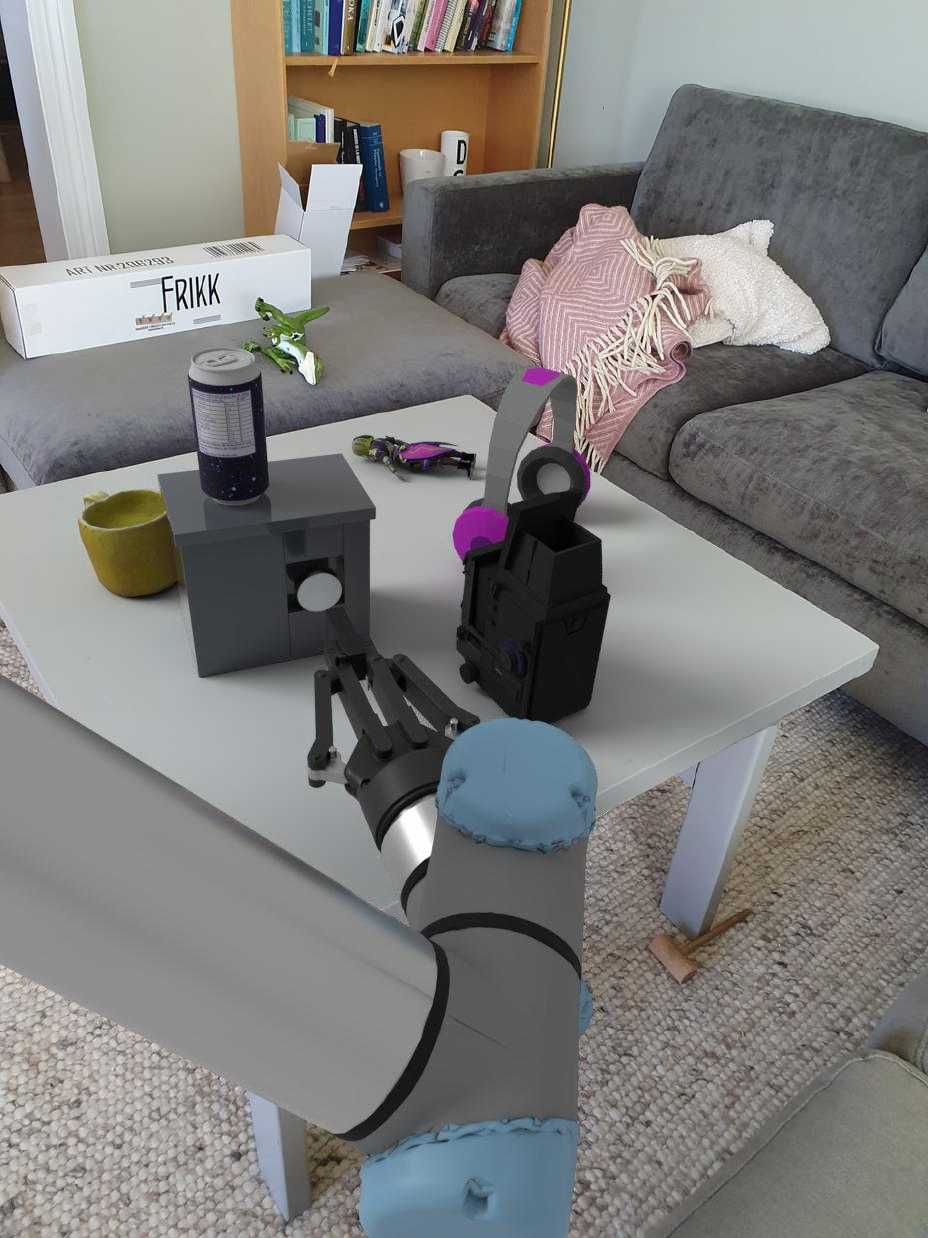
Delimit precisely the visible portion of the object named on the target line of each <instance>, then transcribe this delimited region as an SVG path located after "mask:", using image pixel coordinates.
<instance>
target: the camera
mask: <svg viewBox="0 0 928 1238" xmlns="http://www.w3.org/2000/svg"><path fill="white" fill-rule="evenodd" d="M582 493H583V491H581V490H579V489H576V488H574V487H573V488H572V489H571V490H567V491H563V492H552V493H549V494H545V495H542V496H538V497H535V498H531V499H527V500H524V501H523V500H520V501H516V502H512V503H511V504H512V507H511V511H510V516H509V520H508V525H507V529H506V533H505V538H504V540H503V541H500V542H496V543H493V544H490V545H486V546H483V547H480V548H476V549H473V550H470V551H466V553H465V556H464V558H463V561H462V560H461V564H462V566H463V570H462V571H461V573H462V575H464V584H463V585H464V586H463V594H462V600H461V602H460V605H459V607H460V609H461V614H460V622H461V623H460V625H459V626H458V627H456V633H455V637H456V646H455V649H456V651H457V652H458V653H459V654H460V655H461V656H462V657H463V658H464V661H465V663H462V664H460V665H459V675H460V678H461V680H462V681H463V683H464V684H466V685H469V684H472V683H476V684H477V685H478V686H479V687H480V688H481V689H482V690H483V691H484V692H485V694H487V696H489V698H490V699H491V700H493V702H494V703H495V704H496V705H497V706H498V707H499V708H500V709H501V710H502V711H503V712H504V714H506V715H507V717H508V718H517V719H520V720H522V719H527V720H530V721H540V722H544V723H547V724H550V725H551V724H552V723H555V722H557V721H559V720H562V719H564V718H567V717H569V716H571V715H573V714H575V713H578V712H580V711H582V710H585V709H587V708H588V707H589V705H590V704H591V702H592V698H593V692H594V688H595V681H596V676H597V672H598V666H599V661H600V655H601V650H602V644H603V638H604V634H605V630H606V624H607V619H608V613H609V609H610V608H609V607H610V602H611V597H612V595H611V593H609V592H608V587H607V586H606V585H605V584H604V583H603V540H602V538H600V537H598V536H597V535H596V534H594V533H593V532H591V531H590V530H589V529H586V528H585V527H584V526H583V525H580V524H579V523H577V522H575V518H576V514H577V511H578V509H579V507H580V506H579V502H580V499H581V496H582ZM578 506H579V507H578Z"/></svg>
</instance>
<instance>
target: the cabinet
mask: <svg viewBox="0 0 928 1238" xmlns="http://www.w3.org/2000/svg"><path fill="white" fill-rule="evenodd" d="M268 473H269V487H268V488H267V490H266V491H265V492H264V493H262V494H261V496H260V497H259V498H258V499H257V500H256V501H254V502H252V503H249V504H245V505H239V506H230V505H223V504H220V503H218V502H216V501H214V500H213V499H212V497H210V496H208V495H207V494H205V493H204V492H203V490H202V488H201V482H200V474H199V469H193V470H185V471H183V470H182V471H176V472H175V471H174V472H166V473H157V475H156V476H157V483H158V487H159V491H160V492H161V495H162V499H163V503H164V506H165V510H166V514H167V517H168V521H169V525H170V531H171V538H172V545H173V552H174V559H175V565H176V572H177V579H178V581H177V585H178V593H179V600H180V606H181V613H182V618H183V621H184V625H185V629H186V633H187V636H188V637H187V638H188V641H189V645H190V649H191V653H192V657H193V660H194V663H195V668H196V672H197V676H198V678H204V677H208V676H214V675H219V674H224V673H229V672H234V671H241V670H245V669H251V668H256V667H260V666H265V665H272V664H276V663H277V664H278V663H283V662H288V661H293V660H298V659H304V658H309V657H314V656H319V655H324V643H325V642H326V641H328V639H327V637H326V622H325V610H324V611H318V612H314V611H309V610H307V609H305V608H303V607H302V606H301V605H300V603H299V601H298V599H297V597H296V594H295V592H294V583H295V580H296V578H297V577H298V575H299V574H300V573H301V572H302V571H304V570H305V569H307V568H309V567H312V566H318V565H320V566H326V567H329V568H331V569H332V570H333V571H334V572H335V573H336V575H337V577H338V579H339V581H340V583H341V585H342V593H341V596H340V598H339V600H338V601H337V603H336V604H335V605H333V606H332V607H330V608H335V607H341V606H343V608H344V610H345V612H346V614H347V616H348V618H349V620H350V622H351V624H352V626H353V628H354V630H355V632H356V634H357V635H362V634H367V635H368V636H370V637H371V521H373V520H376V519H377V507H376V505H375V504H374V502H373V500H372V499H371V497H370V496H369V494H368V492H367V491H366V490H365V488H364V486H363V485H362V483H361V482H360V480H359V478H358V477H357V475H356V473H355V472H354V471H353V469H352V467H351V466H350V464H349V462H348V461H347V459H346V458H345V456H344V455H343V453H341V452H340V453H332V454H323V455H322V454H321V455H314V456H307V457H298V458H289V459H279V460H270V461H268Z"/></svg>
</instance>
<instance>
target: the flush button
mask: <svg viewBox="0 0 928 1238" xmlns="http://www.w3.org/2000/svg"><path fill="white" fill-rule="evenodd" d="M294 592H295V594H296V597H297V599H298V601H299V603H300V605H301V606H302V607H303V608H305V609H307V610H309V611H314V612H318V611H324V610H325V609H329V608H330V607H332V606H333V605H335V604H336V603H337V601H338V600H339V598H340V596H341V593H342V585H341V583H340V581H339V579H338V577H337V575H336V573H335V572H334V571H333V570H332V569H331V568H329V567H326V566H320V565H318V566H312V567H309V568H307V569H305V570H304V571H302V572H301V573H300V574H299V575H298V577H297V578H296V580H295V583H294Z"/></svg>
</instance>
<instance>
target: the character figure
mask: <svg viewBox="0 0 928 1238" xmlns="http://www.w3.org/2000/svg"><path fill="white" fill-rule="evenodd" d="M447 446H453V447H458V444H454V443H450V442H446V441H445V442H444V441H419V442H412V443H409V442H407V441H403V440H401V439H398V438H395V437H394V436H388V435H385V437H384V438H383V437H377V438H375V436H373V435H371V434H361V435H357V436H356V437H354V438H353V439H352V442H351V450H352V453H353V454H354V455H355V456H357V457H361V458H366V459H369V460H370V459H371V458H373V459H375V462H381V463H384V464H385V465H386V467H387V468H388V469H389V471H391V473H392V474H393V475H395V476H396V478H397V479H398V480H400V481H402V482H405V481H406V479H405V478H404V476H403V475H401V474H400V472H399V471H398V470H397V469H396V467H395V465H394V463H395V464H397V465H398V466H399V467H401V468H404V469H407V470H411V469H420V470H425V471H429V470H431V469H432V468H435V467H440V468H441V469H444V466H445V467H446V466H447V467H454V468H456V470H457V471H458V470H460V471H466V476H467V479H469V480H472V477H473V470H475V467H476V463H477V459H476V458H477V453H473V452H471V453H468V452H466V451H464V450H462V451H460V450H461V449H460V448H452V447H447ZM458 459H459V460H458Z"/></svg>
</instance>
